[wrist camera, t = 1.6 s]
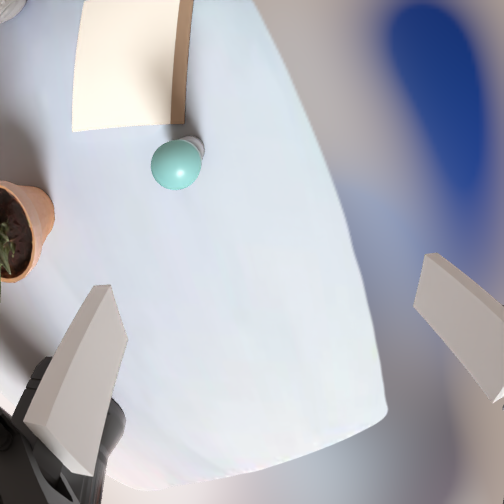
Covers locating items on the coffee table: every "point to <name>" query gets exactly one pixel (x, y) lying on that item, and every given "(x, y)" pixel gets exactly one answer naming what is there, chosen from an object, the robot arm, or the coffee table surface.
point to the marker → (178, 162)
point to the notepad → (131, 63)
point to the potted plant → (22, 229)
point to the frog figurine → (10, 9)
